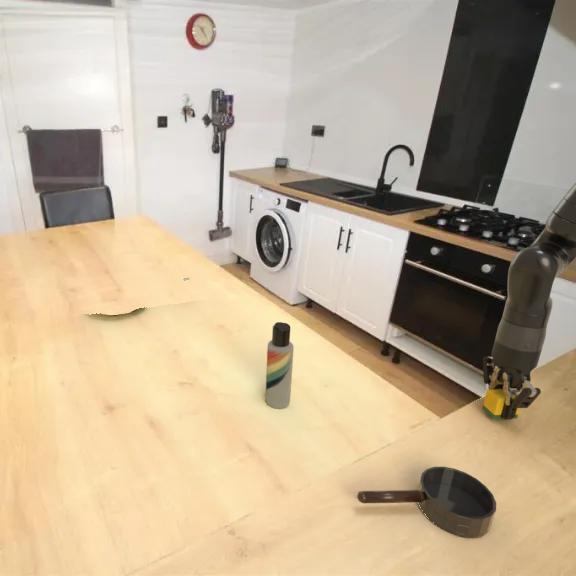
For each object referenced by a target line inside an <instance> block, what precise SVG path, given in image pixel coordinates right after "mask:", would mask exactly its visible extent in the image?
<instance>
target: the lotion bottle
mask: <svg viewBox="0 0 576 576" xmlns="http://www.w3.org/2000/svg"><path fill="white" fill-rule="evenodd" d="M271 332H272V334H271V340H270V341H269V342H268V343H267V348H266V349H267V350H266V371H265V372H266V373H265V397H264V399H265V403H266V404H267V405H268V407H271V408H273V409H277V410H278V409H280V410H281V409H285V408H287V407H289V405H290V403H291V395H292V381H293V380H292V379H293V362H294V349H295V348H294V344H293V342H291V325H290V324H289V323H287V322H282V321H277V322H275V323H274V324H273V325H272V331H271Z"/></svg>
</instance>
